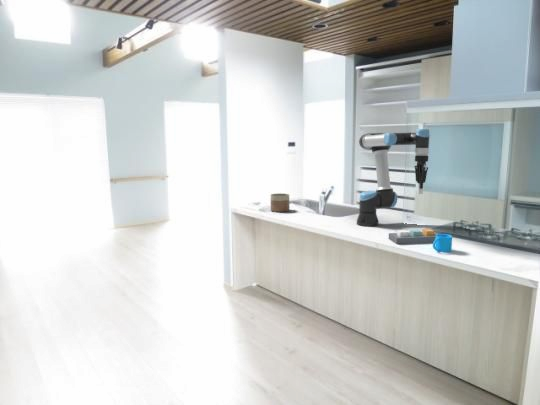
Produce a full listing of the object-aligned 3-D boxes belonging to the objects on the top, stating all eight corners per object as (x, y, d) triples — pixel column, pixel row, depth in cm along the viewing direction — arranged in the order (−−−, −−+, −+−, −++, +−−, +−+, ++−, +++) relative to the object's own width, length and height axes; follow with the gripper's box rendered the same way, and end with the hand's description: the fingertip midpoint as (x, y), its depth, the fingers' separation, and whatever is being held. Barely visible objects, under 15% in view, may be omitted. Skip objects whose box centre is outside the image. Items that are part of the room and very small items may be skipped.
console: (388, 238, 241) (388, 233, 240) (432, 237, 243) (433, 231, 243) (396, 244, 229) (396, 238, 228) (442, 242, 232) (443, 236, 231)
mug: (442, 247, 221) (442, 233, 220) (454, 251, 214) (455, 236, 213) (426, 250, 216) (427, 235, 214) (439, 254, 209) (440, 239, 207)
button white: (396, 237, 237) (397, 230, 237) (404, 236, 238) (404, 230, 237) (400, 239, 233) (400, 232, 232) (408, 238, 233) (408, 232, 232)
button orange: (422, 235, 239) (422, 229, 238) (430, 235, 239) (430, 229, 238) (426, 237, 234) (426, 231, 233) (434, 237, 234) (434, 231, 234)
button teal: (409, 236, 238) (409, 229, 237) (417, 236, 238) (417, 229, 238) (413, 238, 233) (413, 231, 233) (421, 238, 234) (421, 231, 233)
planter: (279, 213, 326) (279, 196, 324) (266, 210, 338) (266, 194, 335) (293, 210, 337) (293, 194, 334) (280, 208, 348) (280, 192, 346)
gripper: (410, 154, 245) (409, 192, 249) (420, 155, 233) (418, 195, 236) (422, 154, 246) (420, 192, 250) (433, 155, 233) (431, 195, 237)
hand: (419, 193), depth 243 cm, fingers closed
